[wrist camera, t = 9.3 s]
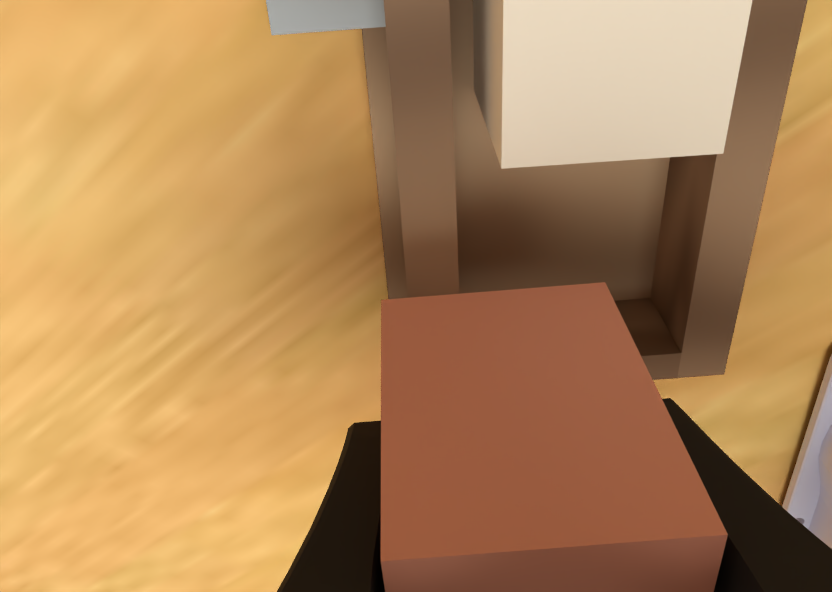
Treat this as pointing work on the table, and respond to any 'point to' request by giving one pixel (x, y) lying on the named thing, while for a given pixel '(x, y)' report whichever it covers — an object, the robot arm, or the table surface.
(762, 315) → the table surface
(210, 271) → the table surface
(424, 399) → the block
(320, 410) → the table surface
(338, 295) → the table surface
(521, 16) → the cream rectangular block
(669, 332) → the jig
